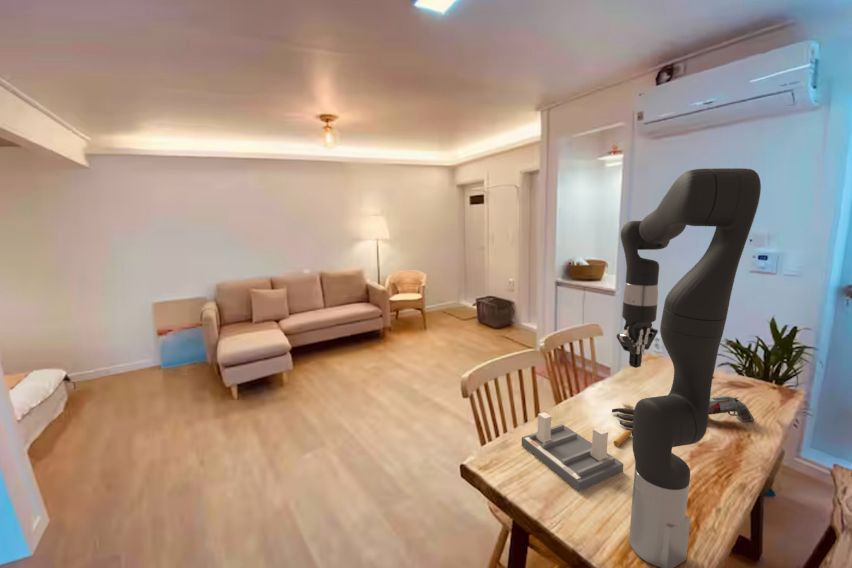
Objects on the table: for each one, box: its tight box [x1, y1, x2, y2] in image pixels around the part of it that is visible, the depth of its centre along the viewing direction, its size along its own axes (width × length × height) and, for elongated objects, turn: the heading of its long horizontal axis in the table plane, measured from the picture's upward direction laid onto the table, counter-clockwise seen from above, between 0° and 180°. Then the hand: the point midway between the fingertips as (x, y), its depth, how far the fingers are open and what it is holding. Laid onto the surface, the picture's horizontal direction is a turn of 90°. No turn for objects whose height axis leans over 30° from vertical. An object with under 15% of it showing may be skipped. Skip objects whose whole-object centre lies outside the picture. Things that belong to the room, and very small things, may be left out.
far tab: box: [536, 411, 552, 443], centre depth 111 cm, size 4×2×8 cm, turn 25°
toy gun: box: [709, 394, 755, 423], centre depth 126 cm, size 4×20×10 cm, turn 80°
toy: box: [611, 407, 634, 447], centre depth 121 cm, size 23×4×30 cm
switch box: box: [521, 423, 624, 492], centre depth 108 cm, size 22×16×4 cm
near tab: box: [590, 426, 609, 461], centre depth 103 cm, size 4×2×8 cm, turn 25°
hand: (635, 366), depth 99 cm, fingers closed
